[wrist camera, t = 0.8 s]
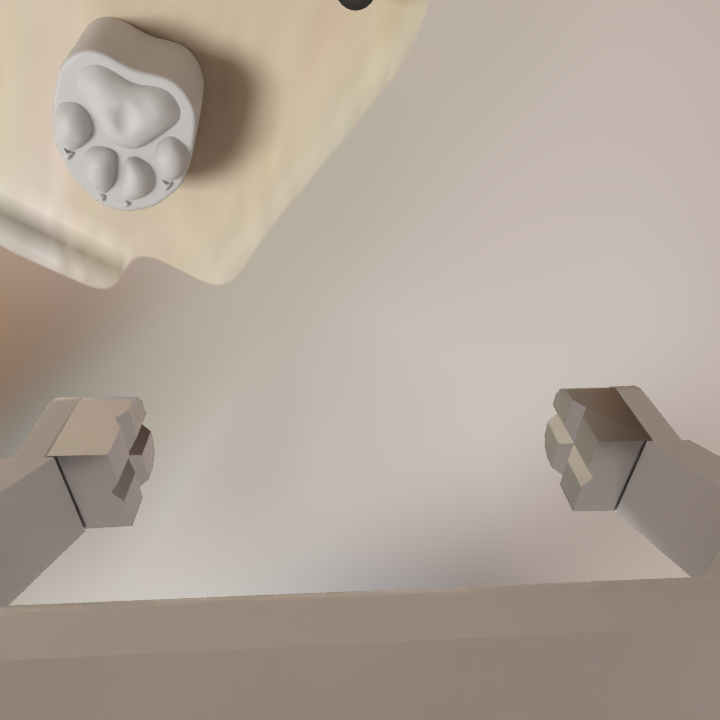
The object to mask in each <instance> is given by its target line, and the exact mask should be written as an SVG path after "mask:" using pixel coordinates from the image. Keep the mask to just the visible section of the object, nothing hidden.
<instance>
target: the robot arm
mask: <svg viewBox="0 0 720 720" xmlns="http://www.w3.org/2000/svg"><path fill="white" fill-rule="evenodd" d="M553 406H554V408H555V410H556V412H557V414H556V415H555V416H554V417H553V418H552V419H550V420H549V421H548V423H547V428H546V432H545V449H546V453H547V457H548V460H549V462H550V464H551V466H552V468H554V469H555V470H556V471H558V472H559V473H561V474H562V475H563V476H562V480H561V483H560V486H561V487H562V490H563V492H564V494H565V496H566V498H567V500H568V502H569V504H570V506H571V508H572V510H573V511H608V510H609V511H611V510H616V513H617V514H618V515H619V516H620V517H621V518H623V519H624V520H625V521H626V522H627V523H628V524H630V525H631V526H632V527H633V528H634V529H635V530H637V531H638V532H639V533H640V534H641V535H642V536H644V537H645V538H646V539H647V540H648V541H649V542H651V543H652V544H653V545H654V546H655V547H657V548H658V549H659V550H660V551H661V552H662V553H664V554H665V555H666V556H667V557H668V558H669V559H671V560H672V561H673V562H674V563H675V564H676V565H678V566H679V567H680V568H681V569H682V570H684V571H685V572H686V573H687V574H688V575H689V576H690V577H688V578H664V579H640V580H617V581H616V580H615V581H591V582H567V583H543V584H520V585H495V586H471V587H447V588H425V589H424V588H423V589H401V590H400V589H399V590H375V591H351V592H329V593H328V592H327V593H303V594H280V595H256V596H231V597H207V598H183V599H161V600H135V601H112V602H88V603H64V604H40V605H15V606H8V605H9V604H10V603H11V602H12V601H13V600H14V599H15V598H16V597H17V596H19V595H20V594H21V592H23V591H24V590H25V589H26V588H27V587H28V586H29V585H30V584H31V583H32V582H33V581H34V580H35V579H36V578H37V577H38V576H39V575H40V574H41V573H42V572H43V571H44V570H45V569H46V568H47V567H48V566H49V565H50V564H52V563H53V562H54V561H55V560H56V559H57V558H58V557H59V556H60V555H61V554H62V553H63V552H64V551H65V550H66V549H67V548H68V547H69V546H70V545H71V544H72V543H73V542H74V541H75V540H76V539H77V538H78V537H79V536H80V535H81V534H83V533H84V531H85V528H103V527H119V526H132V525H133V522H134V519H135V517H136V514H137V511H138V509H139V506H140V503H141V500H142V494H141V491H140V486H141V485H142V484H143V483H145V482H146V481H147V480H148V479H149V477H150V474H151V471H152V468H153V460H154V443H153V438H152V434H151V431H150V430H149V429H147V428H146V427H145V426H144V425H142V423H143V420H144V418H145V415H146V412H145V409H144V406H143V403H142V400H140V399H139V398H137V397H85V398H56V399H54V400H52V401H51V402H50V403H49V405H48V406H47V408H46V409H45V411H44V412H43V414H42V415H41V417H40V419H39V420H38V421H37V423H36V425H35V426H34V427H33V429H32V431H31V432H30V434H29V435H28V437H27V438H26V440H25V441H24V443H23V444H22V446H21V447H20V449H19V450H18V452H17V453H16V455H15V457H14V458H5V459H3V460H1V461H0V720H720V456H718V455H716V454H714V453H712V452H711V451H709V450H707V449H705V448H703V447H701V446H699V445H697V444H696V443H694V442H692V441H690V440H681V439H680V437H679V436H678V435H677V434H676V432H675V431H674V430H673V429H672V427H671V426H670V425H669V424H668V422H667V421H666V420H665V419H664V417H663V416H662V415H661V413H660V412H659V411H658V410H657V408H656V407H655V406H654V405H653V403H651V401H650V400H649V398H648V397H647V396H646V395H645V393H644V392H643V391H642V390H641V389H640V388H638V387H636V386H619V387H618V386H616V387H609V388H576V389H575V388H573V389H572V388H571V389H560V390H559V391H558V392H557V394H556V396H555V399H554V402H553Z"/></svg>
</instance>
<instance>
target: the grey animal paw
mask: <svg viewBox="0 0 720 720" xmlns="http://www.w3.org/2000/svg"><path fill="white" fill-rule="evenodd" d="M203 94H204V78H203V73H202V70H201V67H200V65H199V63H198V61H197V59H196V58H195V56H194V55H193V54H192V53H191V52H190V51H189V50H188V49H187V48H186V47H184V46H182V45H181V44H178V43H176V42H173V41H169V40H165V39H161V38H157V37H154V36H151V35H148V34H146V33H144V32H142V31H141V30H139V29H137V28H135V27H134V26H132V25H130V24H128V23H126V22H124V21H122V20H120V19H117V18H113V17H102V18H99V19H96V20H95V21H93V22H92V23H90V24H89V25H88V26H87V27H86V29H85V30H84V32H83V33H82V35H81V36H80V38H79V39H78V41H77V42H76V44H75V46H74V47H73V49H72V50H71V52H70V53H69V55H68V56H67V58H66V59H65V61H64V62H63V64H62V66H61V68H60V71H59V74H58V78H57V83H56V90H55V95H54V104H53V129H54V139H55V143H56V146H57V148H58V150H59V153H60V155H61V157H62V159H63V160H64V162H65V164H66V166H67V168H68V169H69V171H70V173H71V174H72V176H73V177H74V179H75V180H76V181H77V182H78V183H79V185H80V186H81V187H82V188H83V189H84V190H85V191H86V192H88V193H89V194H90V195H91V196H92V197H93V198H95V199H96V200H97V201H98V202H100V203H102V204H103V205H105V206H107V207H110V208H113V209H117V210H125V211H133V210H140V209H144V208H148V207H151V206H154V205H156V204H158V203H160V202H161V201H163V200H164V199H165V198H167V197H168V196H169V195H170V194H172V193H173V192H174V191H175V190H176V189H177V188H178V187H179V186H180V185H181V184H182V182H183V180H184V178H185V176H186V173H187V171H188V168H189V165H190V161H191V158H192V154H193V149H194V144H195V139H196V134H197V129H198V124H199V119H200V114H201V109H202V100H203Z"/></svg>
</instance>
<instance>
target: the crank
mask: <svg viewBox="0 0 720 720" xmlns="http://www.w3.org/2000/svg"><path fill="white" fill-rule="evenodd" d="M339 1H340V3H341V4H342V5H343V6H344V7H346V8H347V9H350V10H361V9H364V8H366V7H367V6H368V5H369V4H370V3H371V2H372V1H373V0H339Z"/></svg>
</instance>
